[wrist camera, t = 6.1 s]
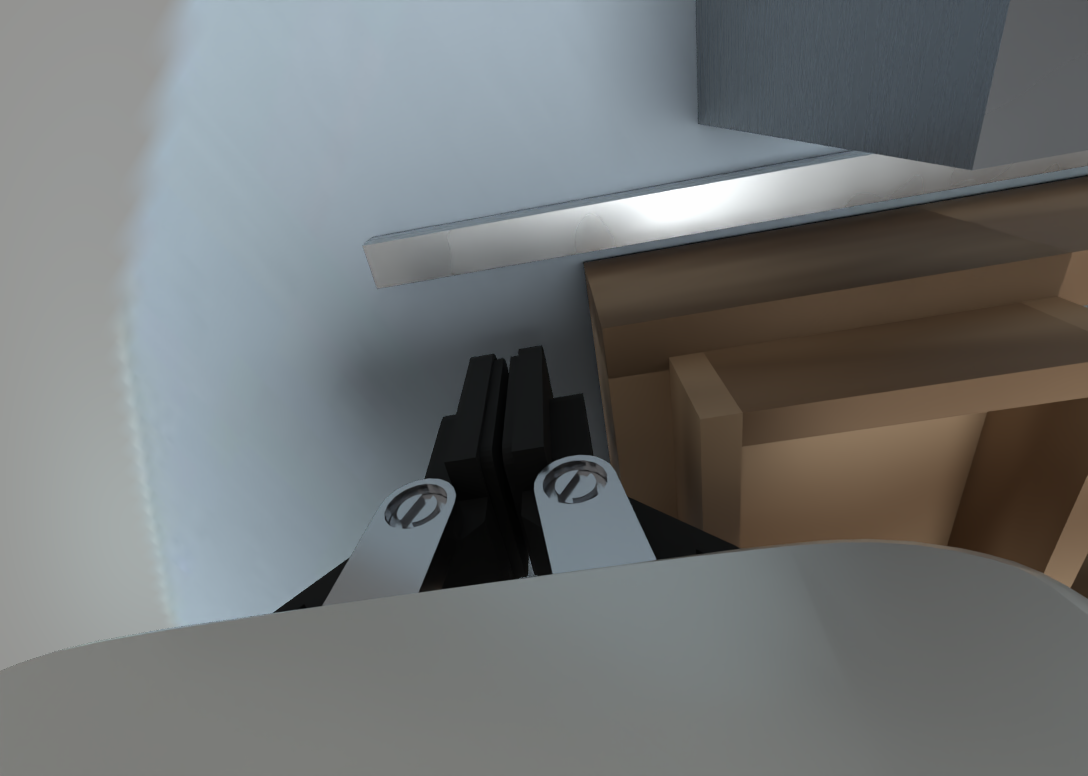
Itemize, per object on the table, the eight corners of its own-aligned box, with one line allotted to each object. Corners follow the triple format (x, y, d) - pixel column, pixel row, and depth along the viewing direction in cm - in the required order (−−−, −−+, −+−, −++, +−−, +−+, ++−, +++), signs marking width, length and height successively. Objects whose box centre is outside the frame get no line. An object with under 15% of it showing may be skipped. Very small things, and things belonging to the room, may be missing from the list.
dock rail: (1257, 519, 17) (1387, 596, 14) (496, 614, 19) (491, 697, 16) (1607, 14, 10) (1970, -14, 8) (372, 237, 12) (327, 275, 10)
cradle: (1195, 503, 16) (1504, 694, 11) (625, 576, 18) (662, 777, 12) (1425, 118, 11) (2230, 138, 6) (583, 263, 12) (618, 386, 7)
